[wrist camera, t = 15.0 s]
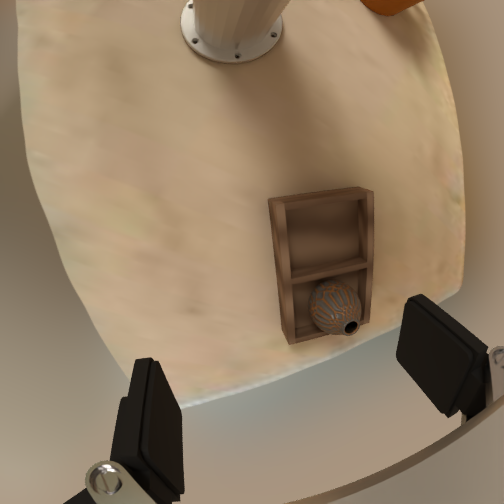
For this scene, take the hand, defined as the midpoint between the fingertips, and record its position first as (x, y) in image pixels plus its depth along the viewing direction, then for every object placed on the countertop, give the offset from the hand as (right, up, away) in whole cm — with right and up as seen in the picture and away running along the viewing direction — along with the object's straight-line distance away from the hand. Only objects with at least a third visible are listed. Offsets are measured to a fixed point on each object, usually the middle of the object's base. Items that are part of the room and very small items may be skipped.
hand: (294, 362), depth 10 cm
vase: (+9, -2, +32) cm, 33 cm away
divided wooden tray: (+8, +2, +31) cm, 32 cm away
